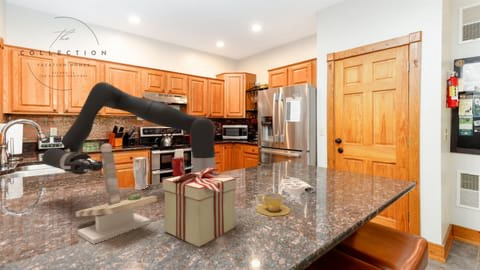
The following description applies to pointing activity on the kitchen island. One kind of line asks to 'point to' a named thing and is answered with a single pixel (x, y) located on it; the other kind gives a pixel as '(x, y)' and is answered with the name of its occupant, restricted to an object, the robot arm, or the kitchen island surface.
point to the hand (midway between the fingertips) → (98, 167)
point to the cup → (272, 205)
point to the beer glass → (140, 172)
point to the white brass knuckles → (295, 186)
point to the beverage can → (178, 166)
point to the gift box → (199, 206)
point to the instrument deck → (115, 207)
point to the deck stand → (112, 225)
